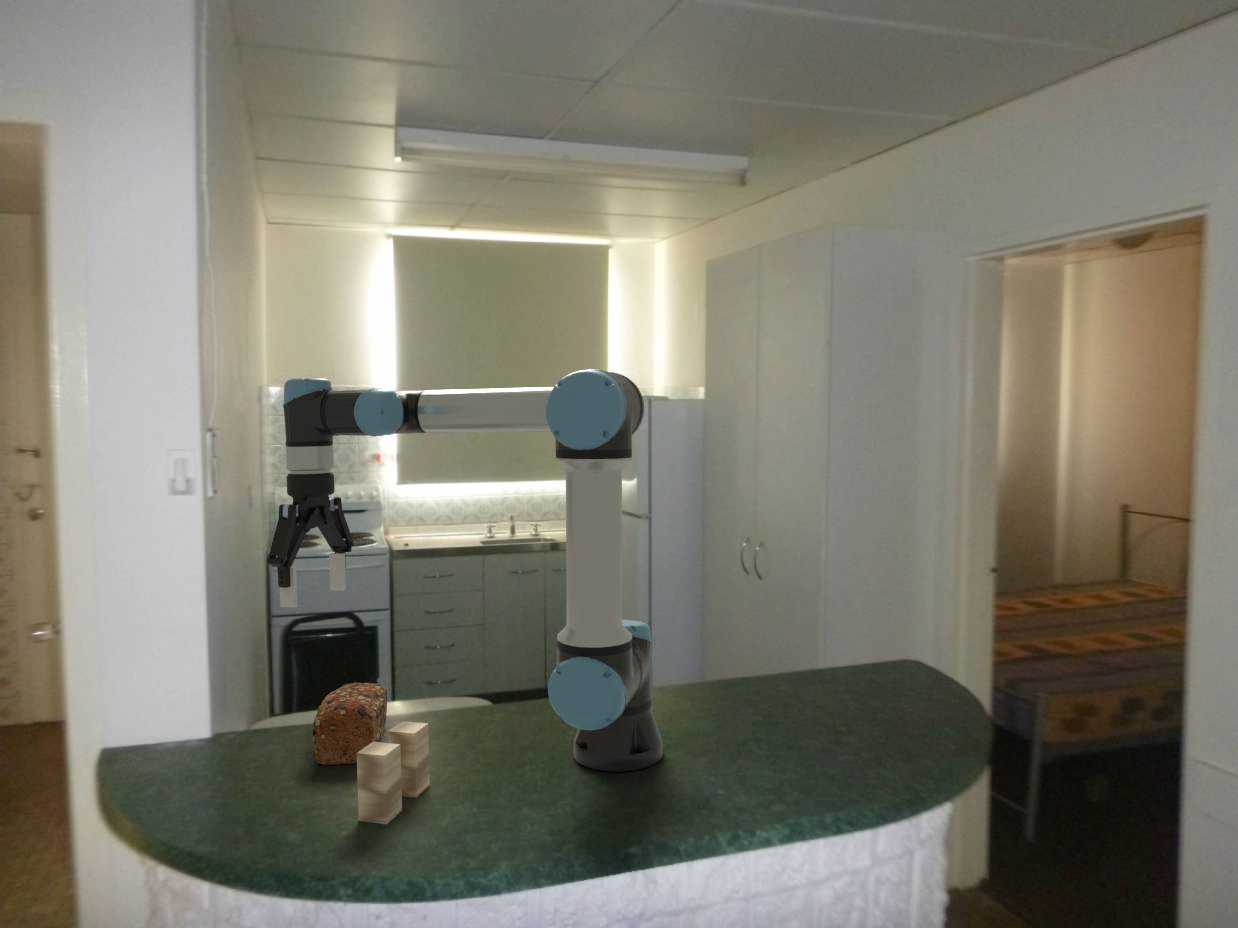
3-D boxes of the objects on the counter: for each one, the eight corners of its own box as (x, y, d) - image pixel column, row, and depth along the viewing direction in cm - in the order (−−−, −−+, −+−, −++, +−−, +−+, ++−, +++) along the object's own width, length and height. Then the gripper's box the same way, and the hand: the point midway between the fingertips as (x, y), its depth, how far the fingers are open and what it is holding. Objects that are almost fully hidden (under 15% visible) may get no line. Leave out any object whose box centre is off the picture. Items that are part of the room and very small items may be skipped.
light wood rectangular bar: (402, 810, 132) (400, 744, 132) (386, 824, 128) (384, 755, 127) (374, 807, 134) (372, 741, 133) (358, 820, 129) (356, 752, 129)
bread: (375, 764, 150) (374, 706, 150) (310, 768, 149) (308, 709, 148) (390, 726, 169) (388, 673, 168) (331, 729, 167) (329, 676, 167)
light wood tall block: (429, 785, 141) (428, 723, 141) (416, 797, 137) (414, 733, 136) (403, 782, 142) (402, 721, 142) (389, 794, 138) (387, 731, 137)
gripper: (334, 466, 162) (338, 583, 163) (239, 477, 138) (245, 613, 139) (371, 467, 160) (374, 584, 161) (281, 477, 136) (286, 615, 137)
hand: (314, 598), depth 150 cm, fingers open, 13 cm apart
